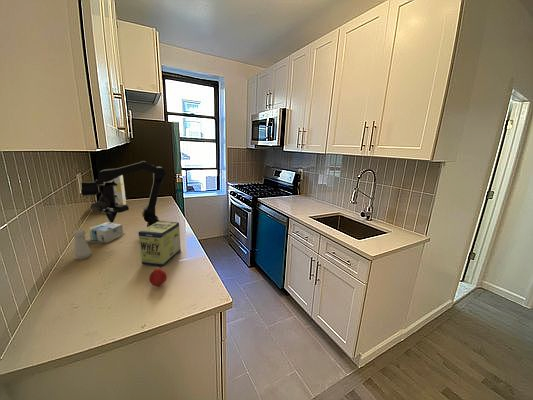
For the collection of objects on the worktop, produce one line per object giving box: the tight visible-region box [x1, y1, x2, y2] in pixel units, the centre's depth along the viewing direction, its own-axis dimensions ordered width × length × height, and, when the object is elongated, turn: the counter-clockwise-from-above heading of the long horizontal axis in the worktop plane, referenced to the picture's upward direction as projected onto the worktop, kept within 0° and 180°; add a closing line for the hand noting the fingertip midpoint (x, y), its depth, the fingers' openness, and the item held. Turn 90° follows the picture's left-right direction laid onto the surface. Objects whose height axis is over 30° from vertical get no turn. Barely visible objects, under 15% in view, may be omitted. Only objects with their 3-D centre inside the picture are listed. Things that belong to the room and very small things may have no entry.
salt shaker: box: [72, 229, 91, 261], centre depth 101 cm, size 6×6×13 cm
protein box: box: [137, 220, 182, 268], centre depth 103 cm, size 10×16×16 cm
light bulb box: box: [89, 221, 124, 243], centre depth 123 cm, size 11×7×11 cm
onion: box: [149, 266, 168, 288], centre depth 83 cm, size 6×6×8 cm
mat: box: [86, 232, 125, 245], centre depth 124 cm, size 12×14×1 cm
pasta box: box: [103, 175, 127, 206], centre depth 179 cm, size 18×10×28 cm, turn 26°
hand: (111, 222), depth 120 cm, fingers closed
